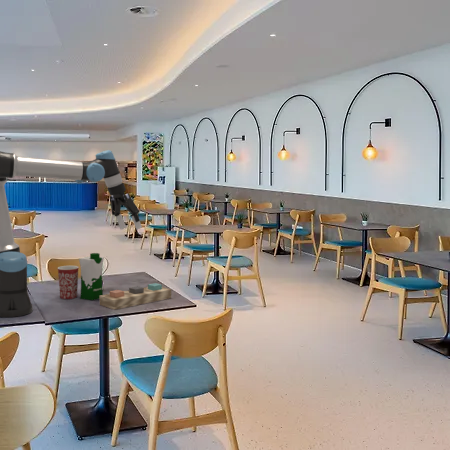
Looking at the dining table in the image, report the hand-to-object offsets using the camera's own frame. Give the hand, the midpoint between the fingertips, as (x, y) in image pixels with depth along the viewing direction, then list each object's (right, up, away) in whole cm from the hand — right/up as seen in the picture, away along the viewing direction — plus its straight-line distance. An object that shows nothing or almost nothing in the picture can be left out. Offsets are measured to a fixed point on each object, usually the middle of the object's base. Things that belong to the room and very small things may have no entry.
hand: (131, 228), depth 253 cm
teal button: (+11, -28, -5) cm, 31 cm away
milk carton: (-16, -31, -7) cm, 36 cm away
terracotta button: (-3, -29, -20) cm, 35 cm away
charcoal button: (+4, -29, -13) cm, 31 cm away
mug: (-26, -31, -5) cm, 41 cm away
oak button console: (+4, -32, -12) cm, 34 cm away
